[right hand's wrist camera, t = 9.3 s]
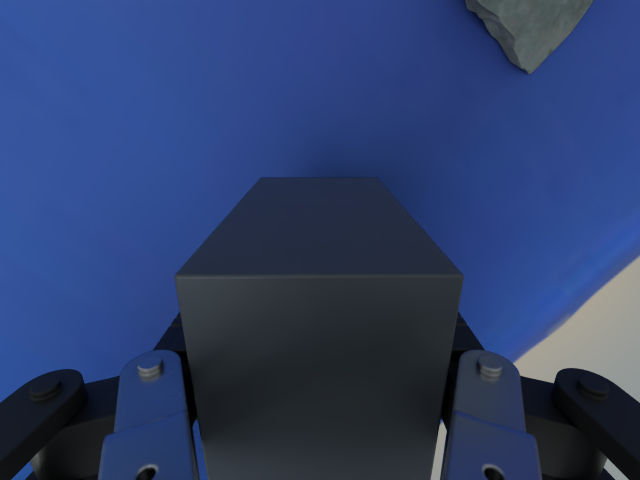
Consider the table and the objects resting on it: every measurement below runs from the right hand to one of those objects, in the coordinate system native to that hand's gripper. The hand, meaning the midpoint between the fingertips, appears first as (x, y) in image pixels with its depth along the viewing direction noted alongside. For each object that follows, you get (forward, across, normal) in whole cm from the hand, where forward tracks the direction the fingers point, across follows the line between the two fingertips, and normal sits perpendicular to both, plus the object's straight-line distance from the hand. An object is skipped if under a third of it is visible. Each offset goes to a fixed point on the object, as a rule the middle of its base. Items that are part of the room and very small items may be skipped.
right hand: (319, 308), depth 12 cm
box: (+6, 0, -8) cm, 10 cm away
